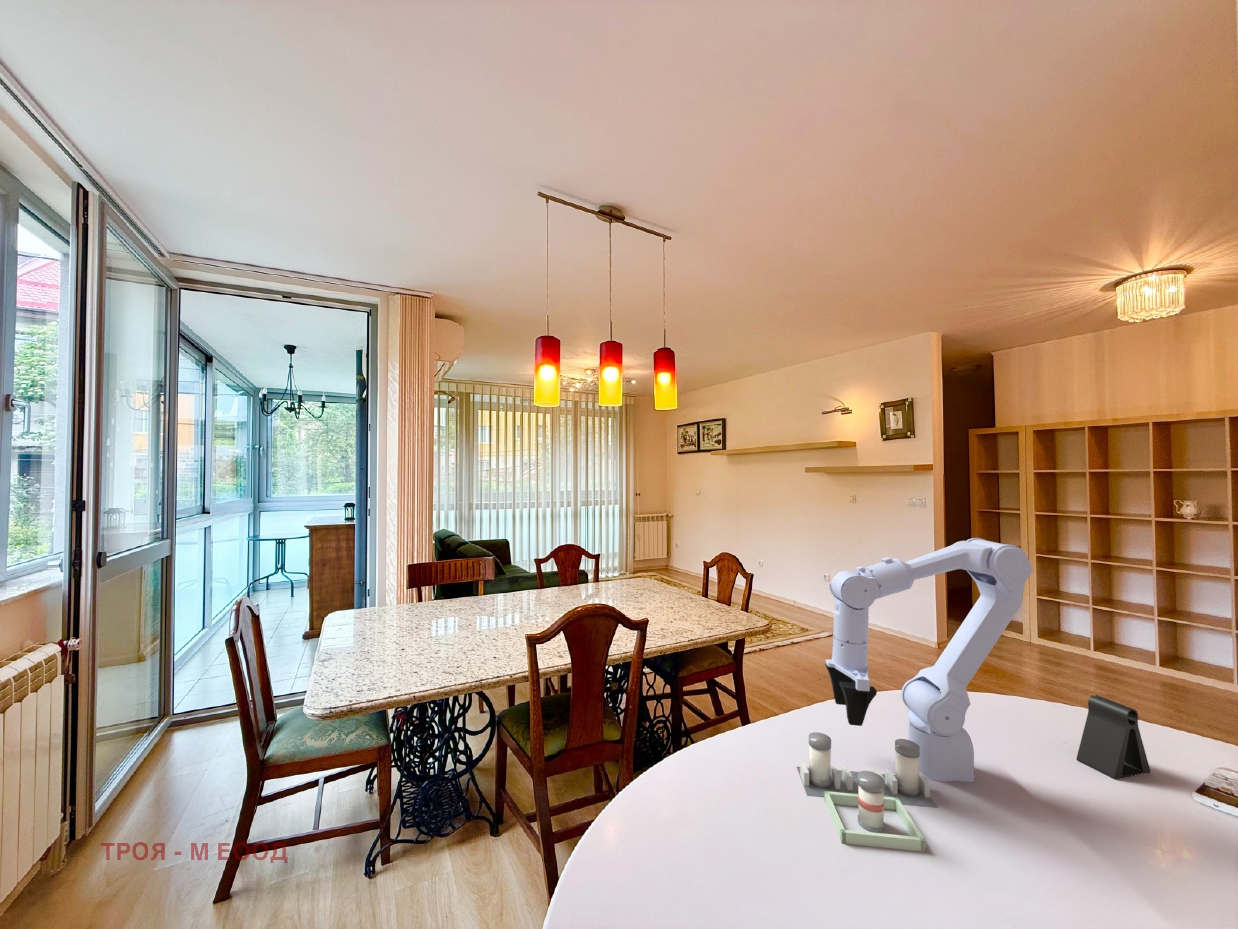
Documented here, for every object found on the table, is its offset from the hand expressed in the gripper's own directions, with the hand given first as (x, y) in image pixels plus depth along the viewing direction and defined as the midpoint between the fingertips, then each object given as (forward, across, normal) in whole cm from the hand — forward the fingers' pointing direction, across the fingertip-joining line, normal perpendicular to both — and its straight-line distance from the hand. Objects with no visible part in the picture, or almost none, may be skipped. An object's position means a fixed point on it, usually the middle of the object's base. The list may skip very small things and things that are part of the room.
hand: (848, 713), depth 90 cm
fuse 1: (+9, +6, -6) cm, 13 cm away
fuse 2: (+9, +6, +8) cm, 13 cm away
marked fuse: (+10, +15, -1) cm, 18 cm away
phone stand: (+9, -9, +50) cm, 51 cm away
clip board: (+10, +6, +1) cm, 12 cm away
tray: (+10, +15, -1) cm, 19 cm away
